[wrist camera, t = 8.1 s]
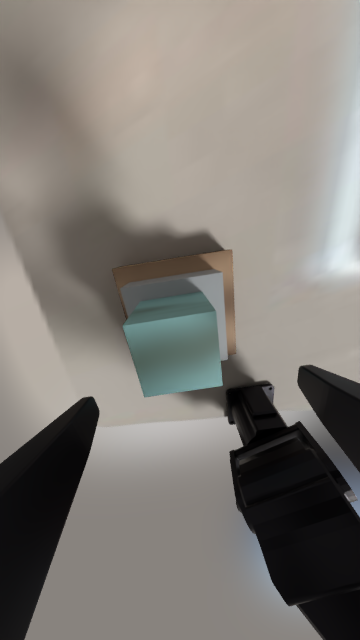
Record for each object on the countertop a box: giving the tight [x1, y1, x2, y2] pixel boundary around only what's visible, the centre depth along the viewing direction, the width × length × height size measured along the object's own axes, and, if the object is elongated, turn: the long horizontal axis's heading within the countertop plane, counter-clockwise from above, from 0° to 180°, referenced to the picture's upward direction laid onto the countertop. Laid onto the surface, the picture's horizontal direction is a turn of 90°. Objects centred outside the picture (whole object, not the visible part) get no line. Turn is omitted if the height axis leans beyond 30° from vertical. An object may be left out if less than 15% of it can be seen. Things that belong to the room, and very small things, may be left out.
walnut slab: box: [112, 250, 236, 355], centre depth 19 cm, size 11×11×3 cm
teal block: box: [123, 291, 223, 397], centre depth 12 cm, size 5×5×5 cm
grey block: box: [120, 269, 228, 361], centre depth 16 cm, size 8×8×3 cm
